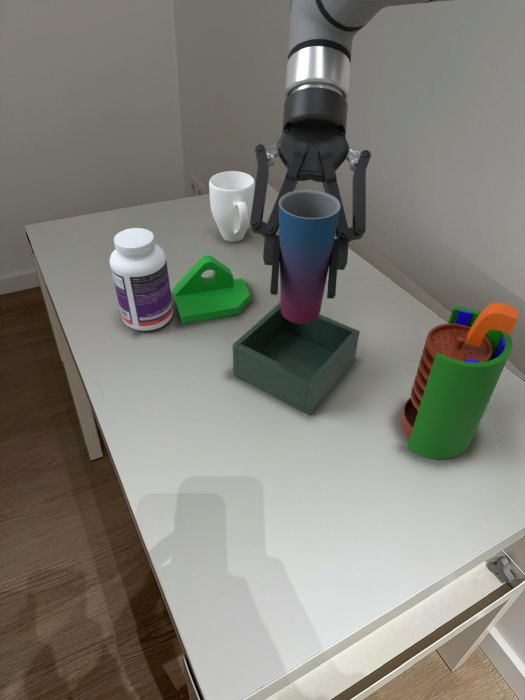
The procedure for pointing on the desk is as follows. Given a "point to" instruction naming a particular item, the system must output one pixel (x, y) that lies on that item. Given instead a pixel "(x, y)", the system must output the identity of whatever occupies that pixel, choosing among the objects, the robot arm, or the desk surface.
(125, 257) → the pill bottle
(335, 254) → the robot arm
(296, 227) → the cup
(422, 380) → the coaster caddy
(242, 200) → the mug
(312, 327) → the holder
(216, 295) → the bracket
